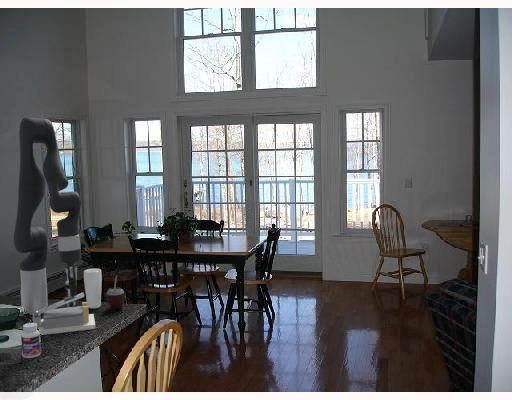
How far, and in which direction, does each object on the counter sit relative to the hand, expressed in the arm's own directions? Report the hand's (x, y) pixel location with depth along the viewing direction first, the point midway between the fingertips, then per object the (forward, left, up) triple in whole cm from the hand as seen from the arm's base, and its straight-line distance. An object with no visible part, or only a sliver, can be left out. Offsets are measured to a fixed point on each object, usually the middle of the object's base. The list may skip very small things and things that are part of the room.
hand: (73, 295), depth 196 cm
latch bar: (-3, -4, -3) cm, 6 cm away
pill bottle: (+12, -25, -11) cm, 30 cm away
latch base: (-3, -3, -11) cm, 12 cm away
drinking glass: (-13, +18, -11) cm, 25 cm away
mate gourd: (-3, +21, -11) cm, 24 cm away
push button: (-22, +14, -11) cm, 28 cm away
